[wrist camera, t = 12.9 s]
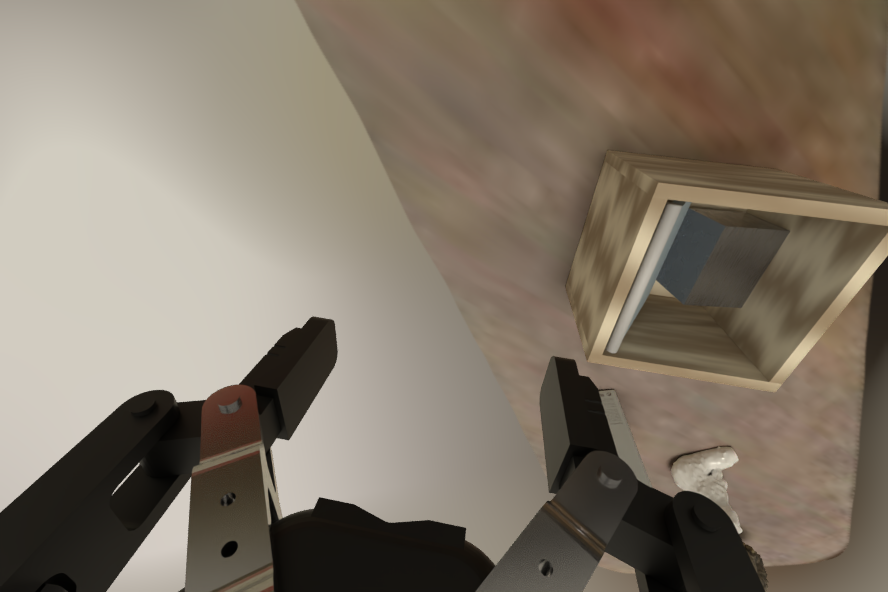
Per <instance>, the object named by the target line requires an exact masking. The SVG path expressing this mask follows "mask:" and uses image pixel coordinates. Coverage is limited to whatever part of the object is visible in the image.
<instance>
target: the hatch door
mask: <svg viewBox="0 0 888 592" xmlns="http://www.w3.org/2000/svg"><path fill="white" fill-rule="evenodd" d="M690 205H691V202H686V201H678V200H674V201H673V202H667V203H666V205H665V208H664V210H663V212H662V215H661V217H660V220H659V222H658V224H657V227H656V229H655V231H654V234H653V236H652V239H651V241H650V243H649V246H648V248H647V250H646V253H645V255H644V258H643V260H642V262H641V265H640V267H639V269H638V272H637V274H636V276H635V279H634V281H633V284H632V286H631V288H630V291H629V293H628V295H627V298H626V300H625V303H624V305H623V307H622V310H621V312H620V314H619V317H618V319H617V322H616V324H615V326H614V329H613V331H612V333H611V336H610V338H609V341H608V343H607V345H606V350H607V351H608V352H610V353H617V351H618V349H619V347H620V345H621V342H622V340H623V338H624V336H625V335H626V333H627V331H628V330H629V328H630V326H631V325H632V323H633V321H634V320H635V318H636V316H637V315H638V313H639V311H640V310H641V308H642V306H643V305H644V303H645V301H646V300H647V298H648V296H649V294H650V292H651V289H652V287H653V285H654V283H655V281H656V278H657V276H658V274H659V272H660V270H661V267H662V265H663V263H664V261H665V259H666V257H667V254H668V252H669V250H670V248H671V246H672V243H673V241H674V239H675V237H676V235H677V233H678V230H679V228H680V226H681V224H682V222H683V219H684V217H685V215H686V213H687V211H688V209H689V207H690Z"/></svg>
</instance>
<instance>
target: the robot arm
mask: <svg viewBox="0 0 888 592" xmlns="http://www.w3.org/2000/svg"><path fill="white" fill-rule="evenodd" d="M337 352H338V351H337V341H336V331H335V323H334V321H333V320H331V319H325V318H319V317H311V318H310V319H309V320H308V321H307V322H306V324H305V325H304V326H303V327H302V328H295V329H293V330H291V331H289V332H288V333H286V334H284V335H283V336H282V337H281V338H280V339H279V340H278V341H277V343H276V344H275V345H274V347H272V348H271V349H270V350H269V351H268V353H267V355H265V356H264V357H263V358H262V359H261V360H260V362H259V363H258V364H257V365H256V366H255V367H254V368H253V369H252V370H251V371H250V373H249V374H248V375H247V376H246V377H245V378H244V379H243V380H242V382H241V383H240V384H239V385H231V386H227V387H224V388H222V389H220V390H218V391H216V392H215V393H213V394H212V395H211V396H210V397H208V398H207V400H202V401H189V402H179V403H178V402H176V400H175V398H174V396H173V394H172V393H170V392H168V391H164V390H153V391H148V392H144V393H141V394H139V395H137V396H134V397H132V398H131V399H129V400H127V401H126V402H124V403H123V404H122V405H121V406H119V407H118V408H117V409H116V410H115V411H114V412H113V413H112V414H111V415H109V416H108V417H107V418H106V419H105V420H104V421H103V422H102V423H100V424H99V425H98V426H97V427H96V428H95V429H94V430H93V431H91V432H90V433H89V434H88V435H87V436H86V437H85V438H84V439H82V440H81V441H80V442H79V443H78V444H77V445H76V446H75V447H74V448H72V449H71V450H70V451H69V452H68V453H67V454H66V455H65V456H63V457H62V458H61V459H60V460H59V461H58V462H57V463H56V464H55V465H53V466H52V467H51V468H50V469H49V470H48V471H47V472H45V474H43V475H42V476H41V477H40V478H39V479H38V480H36V481H35V482H34V483H33V484H32V485H31V486H30V487H29V488H28V489H27V490H25V491H24V492H23V493H22V494H21V495H20V496H19V497H17V498H16V499H15V500H14V501H13V502H12V503H11V504H10V505H9V506H7V507H6V508H5V509H4V510H3V511H2V512H1V513H0V592H106V591H107V590H108V588H109V587H110V586H111V584H112V583H113V582H114V580H115V579H116V578H117V576H118V575H119V573H120V572H121V571H122V569H123V568H124V567H125V565H126V564H127V563H128V561H129V560H130V558H131V557H132V556H133V555H134V553H135V552H136V551H137V549H138V548H139V546H140V545H141V544H142V542H143V541H144V540H145V538H146V537H147V535H148V534H149V533H150V532H151V530H152V529H153V528H154V526H155V524H156V523H157V522H158V521H159V519H160V518H161V517H162V515H163V514H164V513H165V511H166V510H167V509H168V507H169V506H170V504H171V503H172V502H173V500H174V499H175V497H176V496H177V495H178V494H179V492H180V491H181V489H182V488H183V487H184V485H185V484H186V483H187V482H188V480H189V479H190V477H191V493H190V510H189V528H188V546H187V563H186V582H185V587H184V588H183V589H182V590H180V591H179V592H583V590H584V588H585V587H586V585H587V583H588V581H589V579H590V578H591V576H592V574H593V572H594V570H595V569H596V567H597V565H598V563H599V562H600V560H601V558H602V556H603V554H604V552H607V553H608V554H610V555H612V556H614V557H616V558H617V559H619V560H621V561H623V562H625V563H626V564H628V565H630V566H632V567H633V568H635V573H636V577H637V582H638V587H639V591H640V592H765V590H764V587H763V585H762V583H761V581H760V579H759V577H758V575H757V572H756V570H755V568H754V566H753V564H752V562H751V559H750V557H749V555H748V553H747V551H746V549H745V547H744V544H743V542H742V540H741V538H740V536H739V534H738V531H737V529H736V527H735V525H734V523H733V522H732V520H731V519H730V517H729V516H728V515H727V514H726V512H725V511H724V510H723V509H722V508H721V507H720V506H718V505H717V504H716V503H715V502H713V501H712V500H710V499H709V498H707V497H705V496H704V495H701V494H699V493H696V492H692V491H682V492H679V493H677V494H676V495H675V497H674V498H673V497H671V496H668V495H666V494H664V493H662V492H660V491H658V490H656V489H654V488H652V487H649V486H647V485H646V484H644V483H642V482H641V481H639V480H638V479H637V478H636V476H635V474H634V472H633V471H632V469H631V468H630V467H629V465H628V464H627V463H626V462H624V461H623V460H622V459H621V458H619V456H618V453H617V450H616V447H615V443H614V440H613V437H612V433H611V430H610V427H609V424H608V420H607V417H606V415H605V410H604V407H603V404H602V400H601V397H600V394H599V390H598V388H597V387H596V386H595V385H594V383H593V382H592V381H591V379H590V378H589V377H586V376H580V375H579V373H578V369H577V365H576V362H575V360H573V359H567V358H561V357H555V356H552V357H551V359H550V362H549V365H548V368H547V372H546V375H545V378H544V381H543V384H542V387H541V392H540V411H541V421H542V430H543V440H544V449H545V459H546V468H547V478H548V486H549V493H554V494H556V495H555V497H554V498H553V499H552V500H551V501H547V502H546V503H545V504H544V505H543V506H542V508H541V509H540V510H539V511H538V513H537V514H536V515H535V517H534V518H533V519H532V520H531V521H530V523H529V524H528V525H527V527H526V528H525V529H524V530H523V532H522V533H521V534H520V535H519V537H518V538H517V539H516V541H515V542H514V543H513V544H512V546H511V547H510V548H509V550H508V551H507V552H506V553H505V555H504V556H503V557H502V559H501V560H500V561H499V562H498V563H497V565H496V566H495V565H494V563H493V562H492V561H491V560H490V559H489V558H488V557H487V556H486V555H485V554H484V553H483V552H482V551H481V550H480V549H478V548H477V547H476V546H474V545H473V544H471V543H469V542H467V541H466V540H465V533H466V528H464V527H459V526H454V525H449V524H445V523H440V522H435V521H430V520H425V521H412V522H398V523H388V522H385V521H383V520H381V519H380V518H378V517H376V516H374V515H372V514H371V513H368V512H367V511H365V510H363V509H361V508H360V507H358V506H356V505H354V504H349V503H344V502H340V501H335V500H330V499H325V498H319V499H318V501H317V503H316V506H315V508H314V509H309V510H304V511H300V512H297V513H294V514H291V515H289V516H286V517H284V518H283V517H282V513H281V508H280V503H279V498H278V491H277V484H276V477H275V470H274V463H273V456H272V450H271V446H272V444H273V443H274V441H275V439H276V438H280V439H285V440H289V439H290V438H291V436H292V435H293V433H294V431H295V430H296V428H297V426H298V425H299V423H300V421H301V420H302V418H303V417H304V415H305V413H306V412H307V410H308V409H309V407H310V405H311V403H312V402H313V400H314V399H315V397H316V396H317V394H318V392H319V391H320V389H321V387H322V386H323V384H324V382H325V381H326V379H327V377H328V376H329V374H330V373H331V371H332V369H333V368H334V366H335V363H336V360H337ZM138 463H140V465H139V466H138V467H137V468H136V469H135V471H134V472H133V473H132V474H131V475H130V476H129V477H128V478H127V479H126V480H125V482H124V483H123V484H122V485H121V486H120V487H119V488H118V489H117V491H116V492H115V493H114V494H113V495H112V493H113V492H114V490H115V489H116V488H117V486H118V485H119V484H120V483H121V482H122V481H123V479H124V478H125V477H126V476H127V475H128V474H129V473H130V472H131V471H132V470H133V468H134V467H135V466H136V465H137V464H138Z"/></svg>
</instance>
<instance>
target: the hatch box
mask: <svg viewBox="0 0 888 592" xmlns="http://www.w3.org/2000/svg"><path fill="white" fill-rule="evenodd" d="M674 200H678V201H686V202H691V205H690V207H689V208H697V209H710V210H723V211H736V212H747V213H749V214H751V215H754V216H756V217H759V218H761V219H763V220H766V221H768V222H770V223H773V224H775V225H777V226H780V227H782V228H785V229H787V230H789V231H790V233H789V234H788V236H787V237H786V239H785V241H784V242H783V244H782V245H781V247H780V248H779V250H778V251H777V253H776V255H775V256H774V258H773V259H772V261H771V262H770V264H769V266H768V267H767V269H766V270H765V272H764V273H763V275H762V277H761V278H760V280H759V281H758V283H757V284H756V286H755V288H754V289H753V291H752V292H751V294H750V295H749V297H748V299H747V300H746V302H745V303H744V305H743V306H742V308H731V307H713V306H695V305H683V304H682V303H681V302H680V301H679V300H678V299H676V298H675V297H674V296H673V295H672V294H671V293H670V292H669V291H668V290H666V289H665V288H664V287H663V286H662V285H661V284H660V283H659V282H657V281H655V283H654V285H653V287H652V289H651V292H650V294H649V296H648V298H647V300H646V301H645V303H644V305H643V306H642V308H641V310H640V311H639V313H638V315H637V316H636V318H635V320H634V321H633V323H632V325H631V326H630V328H629V330H628V331H627V333H626V335H625V336H624V338H623V340H622V342H621V345H620V347H619V349H618V351H617V353H610V352H608V351H607V350H606V345H607V343H608V341H609V338H610V336H611V333H612V331H613V329H614V326H615V324H616V322H617V319H618V317H619V314H620V312H621V310H622V307H623V305H624V303H625V300H626V298H627V295H628V293H629V291H630V288H631V286H632V284H633V281H634V279H635V276H636V274H637V272H638V269H639V267H640V265H641V262H642V260H643V258H644V255H645V253H646V250H647V248H648V246H649V243H650V241H651V239H652V236H653V234H654V231H655V229H656V227H657V224H658V222H659V220H660V217H661V215H662V212H663V210H664V208H665V205H666V203H667V202H673V201H674ZM887 256H888V203H886V202H883V201H879V200H876V199H873V198H870V197H866V196H863V195H860V194H857V193H853V192H850V191H847V190H844V189H840V188H837V187H834V186H831V185H827V184H824V183H821V182H817V181H814V180H811V179H808V178H804V177H801V176H798V175H795V174H791V173H788V172H785V171H782V170H778V169H772V168H763V167H754V166H745V165H736V164H727V163H718V162H709V161H700V160H691V159H682V158H673V157H664V156H655V155H646V154H637V153H628V152H619V151H610V150H607V153H606V156H605V160H604V163H603V166H602V169H601V173H600V176H599V179H598V182H597V186H596V189H595V192H594V195H593V199H592V202H591V205H590V208H589V212H588V215H587V218H586V221H585V225H584V228H583V231H582V234H581V238H580V241H579V244H578V247H577V251H576V254H575V257H574V260H573V264H572V267H571V270H570V273H569V277H568V280H567V283H566V286H565V287H566V291H567V294H568V298H569V301H570V304H571V308H572V311H573V315H574V318H575V322H576V325H577V328H578V332H579V335H580V339H581V342H582V345H583V349H584V352H585V356H586V359H587V362H592V363H598V364H604V365H610V366H616V367H622V368H628V369H635V370H641V371H647V372H653V373H659V374H665V375H671V376H678V377H684V378H690V379H696V380H702V381H708V382H714V383H721V384H727V385H733V386H739V387H745V388H751V389H757V390H763V391H770V392H776V391H777V389H778V388H779V387H780V386H781V385H782V383H783V382H784V381H785V380H786V379H787V377H788V376H789V375H790V374H791V372H792V371H793V370H794V369H795V368H796V366H797V365H798V364H799V363H800V362H801V360H802V359H803V358H804V357H805V355H806V354H807V353H808V352H809V351H810V349H811V348H812V347H813V346H814V344H815V343H816V342H817V341H818V340H819V338H820V337H821V336H822V335H823V334H824V332H825V331H826V330H827V329H828V327H829V326H830V325H831V324H832V323H833V321H834V320H835V319H836V318H837V317H838V315H839V314H840V313H841V312H842V310H843V309H844V308H845V307H846V306H847V304H848V303H849V302H850V301H851V299H852V298H853V297H854V296H855V295H856V293H857V292H858V291H859V290H860V289H861V287H862V286H863V285H864V284H865V282H866V281H867V280H868V279H869V278H870V276H871V275H872V274H873V273H874V272H875V270H876V269H877V268H878V267H879V265H880V264H881V263H882V262H883V261H884V259H885V258H886V257H887Z"/></svg>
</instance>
